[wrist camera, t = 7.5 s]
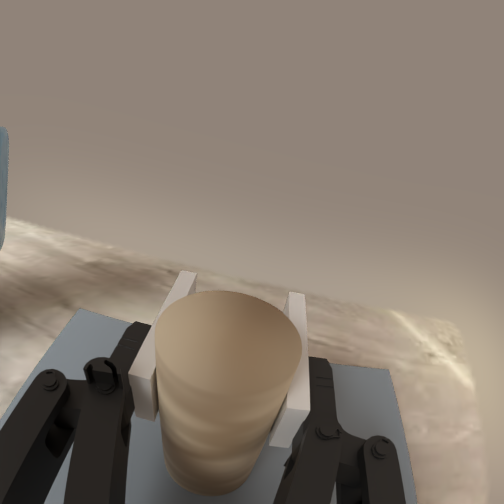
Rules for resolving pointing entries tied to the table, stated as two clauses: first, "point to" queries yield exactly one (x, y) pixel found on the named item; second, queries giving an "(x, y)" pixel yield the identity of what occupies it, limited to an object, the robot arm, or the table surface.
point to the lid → (219, 400)
